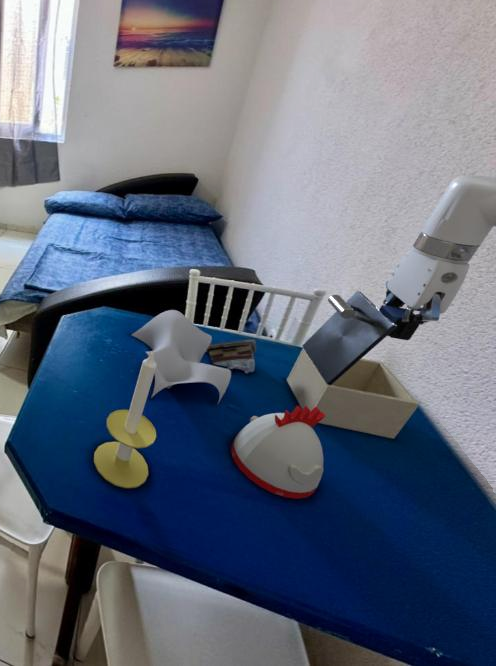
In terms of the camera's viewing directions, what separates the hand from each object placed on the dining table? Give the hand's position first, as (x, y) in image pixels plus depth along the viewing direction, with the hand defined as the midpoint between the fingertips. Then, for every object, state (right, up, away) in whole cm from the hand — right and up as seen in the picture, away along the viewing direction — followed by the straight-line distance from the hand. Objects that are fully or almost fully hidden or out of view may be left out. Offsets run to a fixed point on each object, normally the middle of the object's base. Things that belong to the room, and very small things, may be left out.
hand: (391, 329), depth 81 cm
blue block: (0, 0, 0) cm, 0 cm away
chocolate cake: (-19, -11, +23) cm, 32 cm away
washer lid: (-6, -2, +3) cm, 7 cm away
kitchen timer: (-26, -26, -3) cm, 37 cm away
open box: (-2, -19, +11) cm, 21 cm away
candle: (-56, -25, -4) cm, 61 cm away
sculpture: (-34, -12, +21) cm, 42 cm away
